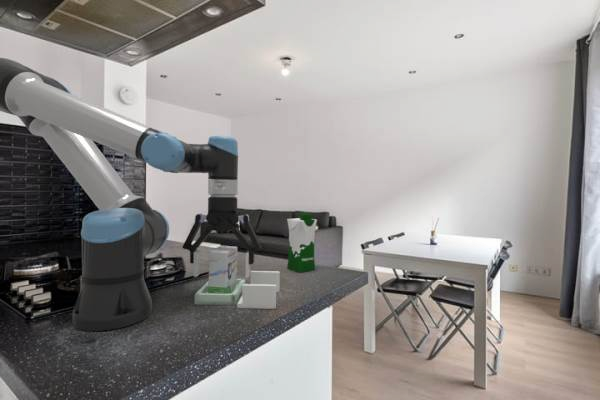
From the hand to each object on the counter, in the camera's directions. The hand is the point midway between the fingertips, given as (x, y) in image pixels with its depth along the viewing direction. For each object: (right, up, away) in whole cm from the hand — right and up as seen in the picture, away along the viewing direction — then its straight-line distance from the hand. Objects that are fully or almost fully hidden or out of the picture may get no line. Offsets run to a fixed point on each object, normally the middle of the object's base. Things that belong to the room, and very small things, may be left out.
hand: (222, 276), depth 85 cm
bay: (+11, -6, -2) cm, 12 cm away
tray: (0, -5, 0) cm, 5 cm away
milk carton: (+21, -5, +29) cm, 36 cm away
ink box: (0, -5, 0) cm, 5 cm away
